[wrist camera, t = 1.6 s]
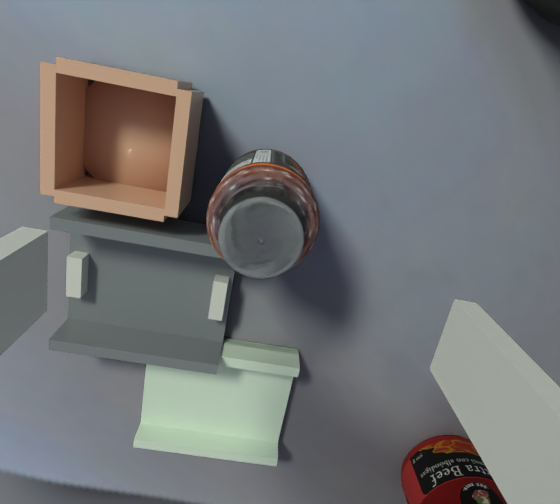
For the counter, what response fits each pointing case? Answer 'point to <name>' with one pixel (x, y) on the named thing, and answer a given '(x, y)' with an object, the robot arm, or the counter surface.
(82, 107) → the open cardboard box
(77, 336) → the checker cradle
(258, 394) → the trough
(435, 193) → the counter surface
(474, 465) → the canned food
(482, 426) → the robot arm
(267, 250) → the supplement bottle
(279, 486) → the counter surface
